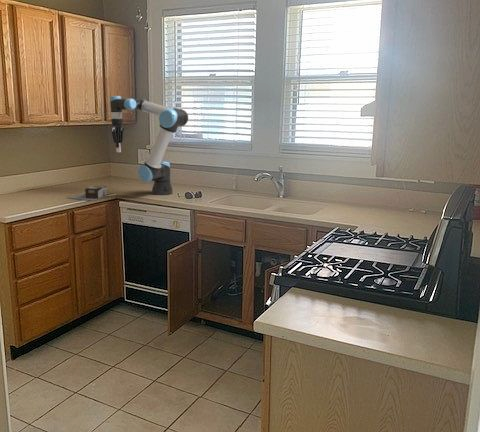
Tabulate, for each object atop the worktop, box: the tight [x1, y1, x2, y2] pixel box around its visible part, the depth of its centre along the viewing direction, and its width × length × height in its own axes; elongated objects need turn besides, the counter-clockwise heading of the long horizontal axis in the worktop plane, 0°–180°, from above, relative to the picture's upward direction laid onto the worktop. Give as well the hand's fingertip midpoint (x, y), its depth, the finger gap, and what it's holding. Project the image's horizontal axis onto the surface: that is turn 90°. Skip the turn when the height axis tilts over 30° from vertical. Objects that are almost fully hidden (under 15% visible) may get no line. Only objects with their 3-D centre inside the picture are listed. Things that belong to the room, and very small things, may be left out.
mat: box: [67, 192, 109, 202], centre depth 324 cm, size 20×18×1 cm
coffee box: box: [84, 184, 108, 198], centre depth 326 cm, size 9×6×16 cm
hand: (118, 152), depth 338 cm, fingers closed
